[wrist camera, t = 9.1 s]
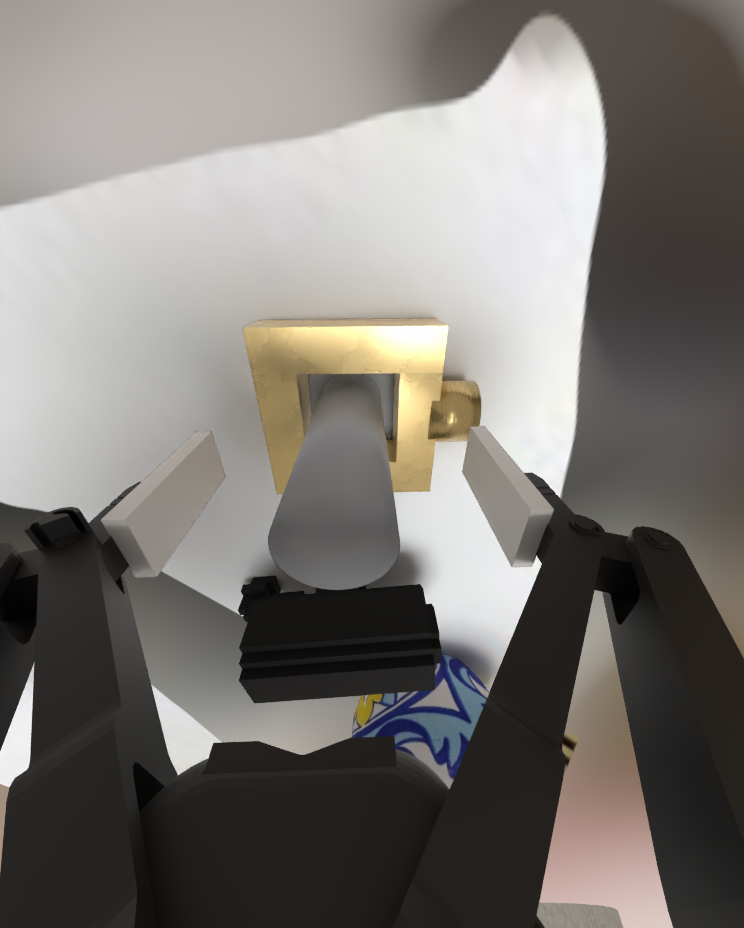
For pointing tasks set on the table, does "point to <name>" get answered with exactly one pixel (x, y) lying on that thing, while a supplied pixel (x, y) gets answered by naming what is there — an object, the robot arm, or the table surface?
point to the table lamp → (454, 752)
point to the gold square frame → (361, 352)
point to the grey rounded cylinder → (339, 494)
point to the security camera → (336, 642)
